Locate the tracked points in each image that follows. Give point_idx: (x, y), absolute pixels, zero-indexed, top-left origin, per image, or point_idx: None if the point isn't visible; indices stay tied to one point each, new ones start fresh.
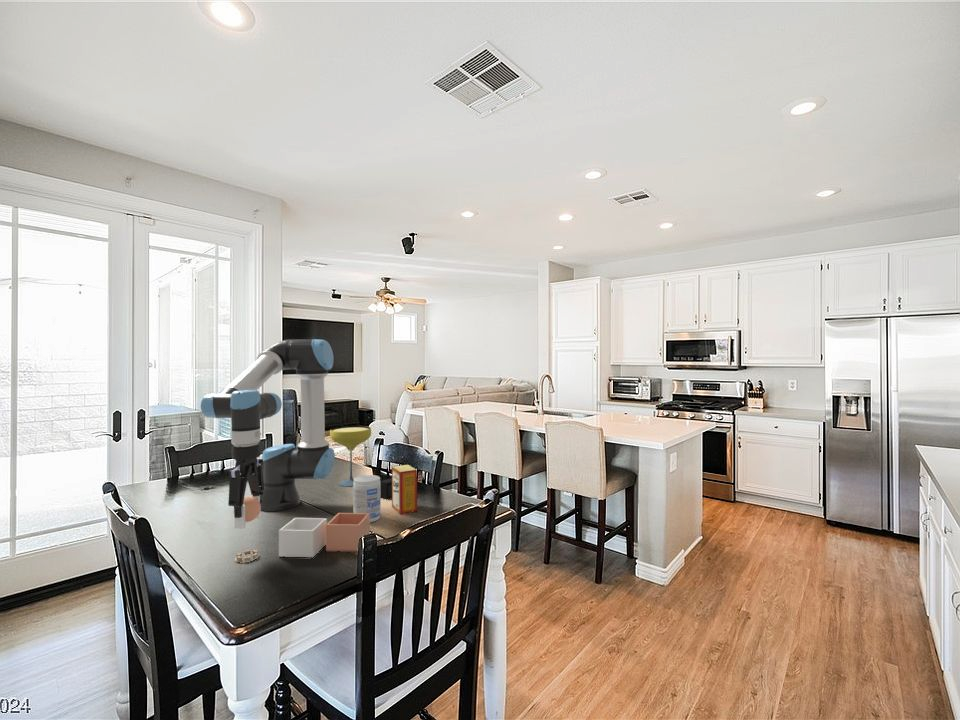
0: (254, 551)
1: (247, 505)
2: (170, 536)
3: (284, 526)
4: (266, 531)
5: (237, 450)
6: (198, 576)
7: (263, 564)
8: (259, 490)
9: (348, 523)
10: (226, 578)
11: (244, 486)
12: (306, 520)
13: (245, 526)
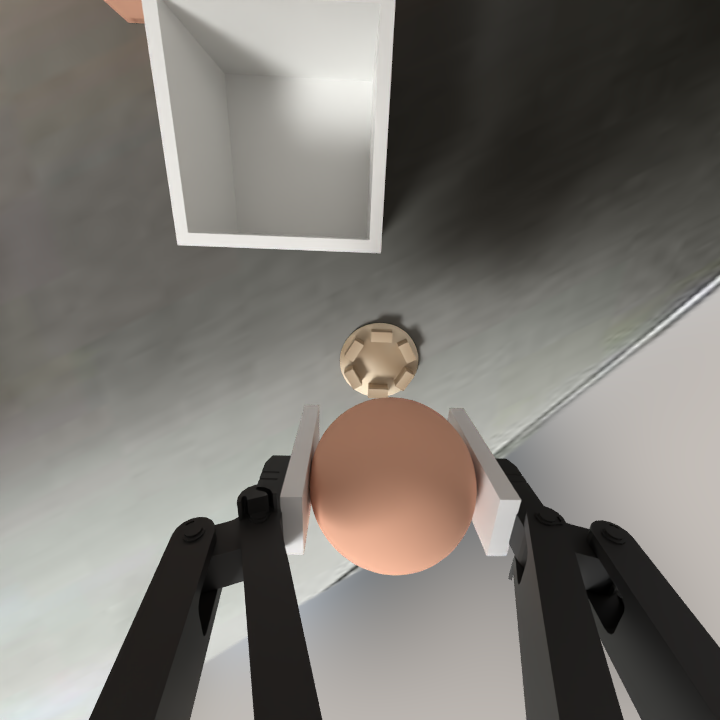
0: (358, 351)
1: (467, 485)
2: (241, 625)
3: (321, 245)
4: (146, 406)
5: None
6: (496, 436)
7: (428, 280)
8: (261, 539)
9: None
10: (522, 352)
11: (599, 691)
12: (183, 156)
13: (450, 411)
